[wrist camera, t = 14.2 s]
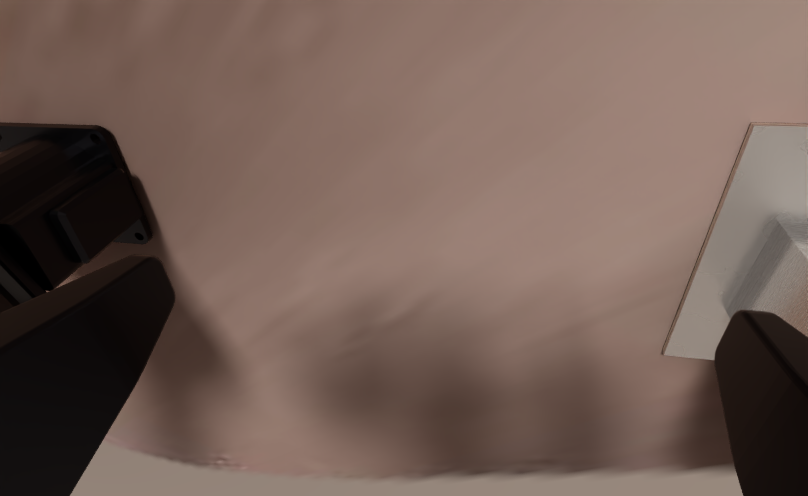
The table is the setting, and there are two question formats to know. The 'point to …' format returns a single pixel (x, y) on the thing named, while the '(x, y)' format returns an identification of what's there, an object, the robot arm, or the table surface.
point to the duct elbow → (779, 277)
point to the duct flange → (742, 232)
